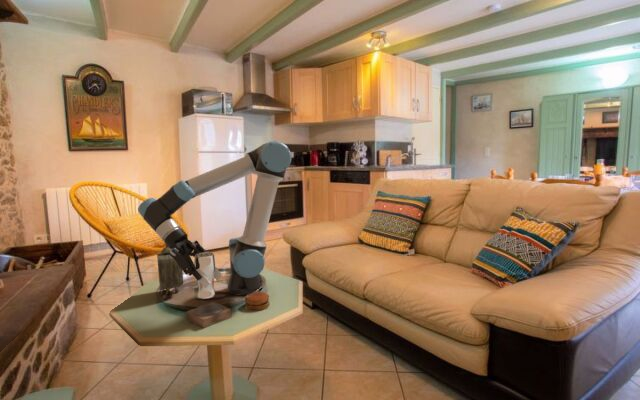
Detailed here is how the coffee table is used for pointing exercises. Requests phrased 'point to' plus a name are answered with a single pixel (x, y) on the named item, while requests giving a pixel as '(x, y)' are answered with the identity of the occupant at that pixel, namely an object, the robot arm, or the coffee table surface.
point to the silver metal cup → (205, 273)
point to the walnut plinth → (208, 314)
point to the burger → (257, 301)
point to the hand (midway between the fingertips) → (214, 281)
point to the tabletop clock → (168, 271)
